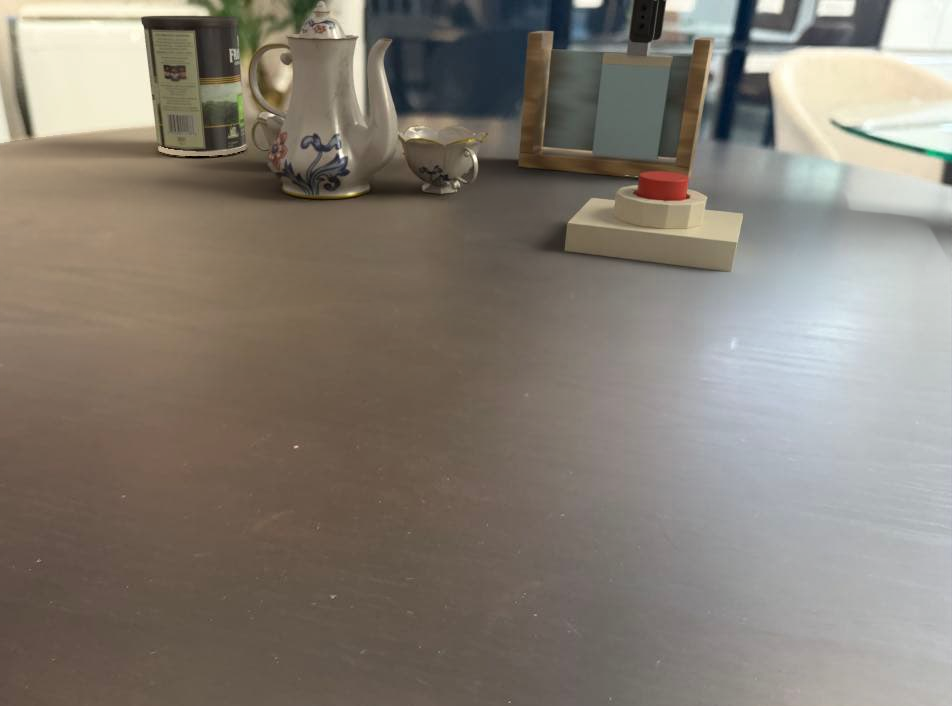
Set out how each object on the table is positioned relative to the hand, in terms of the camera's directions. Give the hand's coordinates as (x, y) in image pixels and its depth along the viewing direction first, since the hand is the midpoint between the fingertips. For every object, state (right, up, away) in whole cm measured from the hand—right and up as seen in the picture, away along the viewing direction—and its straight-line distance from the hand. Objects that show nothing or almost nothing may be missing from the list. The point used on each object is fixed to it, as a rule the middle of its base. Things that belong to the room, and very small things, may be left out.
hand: (645, 40), depth 83 cm
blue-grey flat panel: (-1, -10, +5) cm, 11 cm away
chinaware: (-30, -15, -1) cm, 33 cm away
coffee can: (-48, -7, +14) cm, 50 cm away
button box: (-5, -24, -18) cm, 31 cm away
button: (-4, -21, -20) cm, 29 cm away
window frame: (-2, -11, +8) cm, 13 cm away
